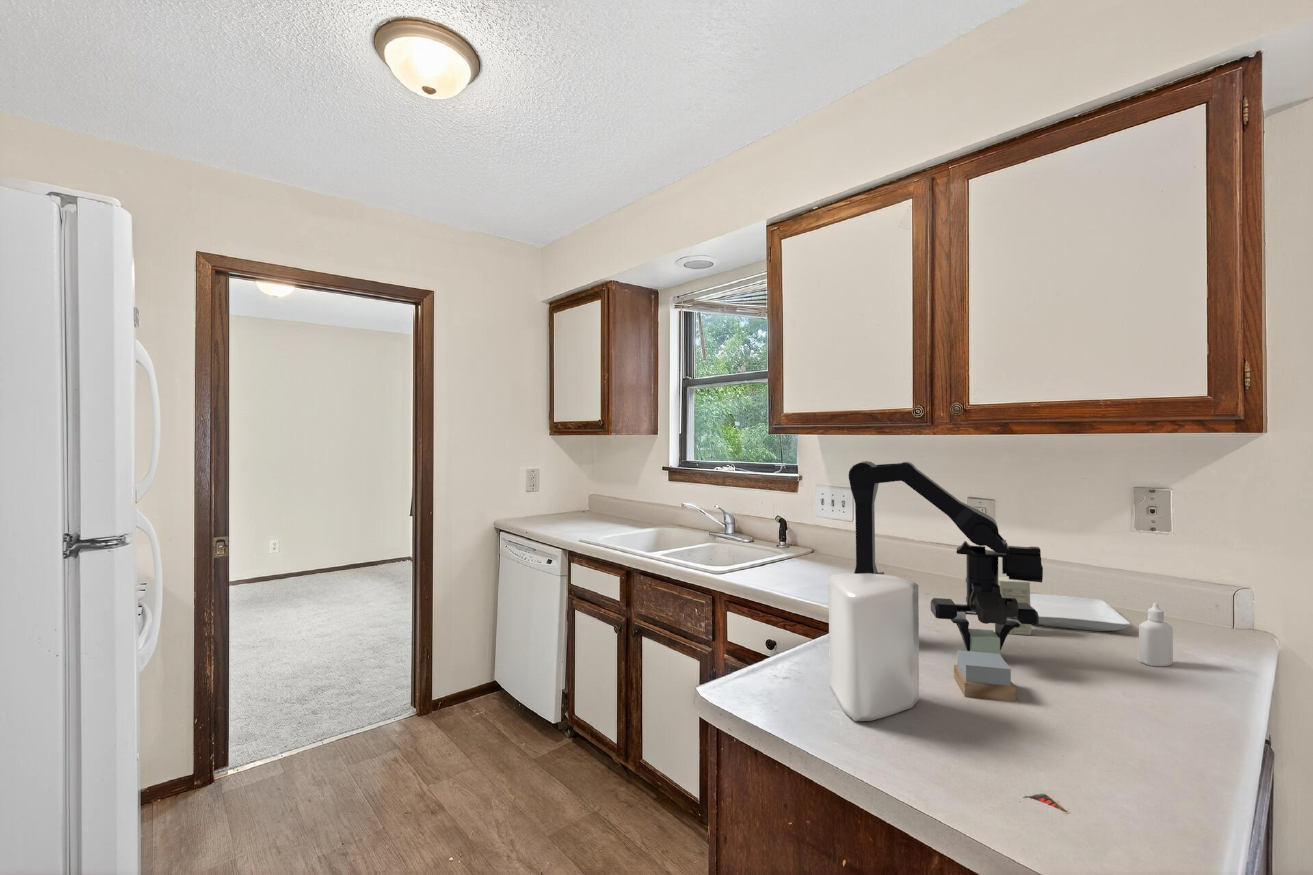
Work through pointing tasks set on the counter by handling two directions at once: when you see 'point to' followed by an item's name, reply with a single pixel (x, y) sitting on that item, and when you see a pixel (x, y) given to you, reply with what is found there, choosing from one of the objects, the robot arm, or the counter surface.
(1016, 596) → the skincare box
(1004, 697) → the tower base
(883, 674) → the white triangular prism
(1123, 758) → the counter surface
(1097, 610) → the salad plate
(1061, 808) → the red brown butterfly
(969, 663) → the blue-grey square block
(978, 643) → the stack block
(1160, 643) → the eye dropper bottle
